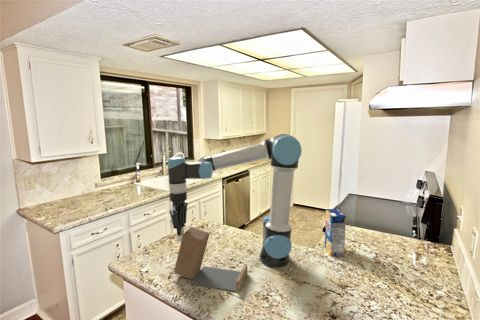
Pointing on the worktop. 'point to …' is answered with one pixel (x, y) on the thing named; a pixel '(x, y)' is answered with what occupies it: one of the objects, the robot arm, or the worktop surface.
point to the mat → (216, 278)
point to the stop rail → (241, 278)
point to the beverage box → (335, 232)
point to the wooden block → (191, 252)
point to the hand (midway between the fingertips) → (180, 240)
